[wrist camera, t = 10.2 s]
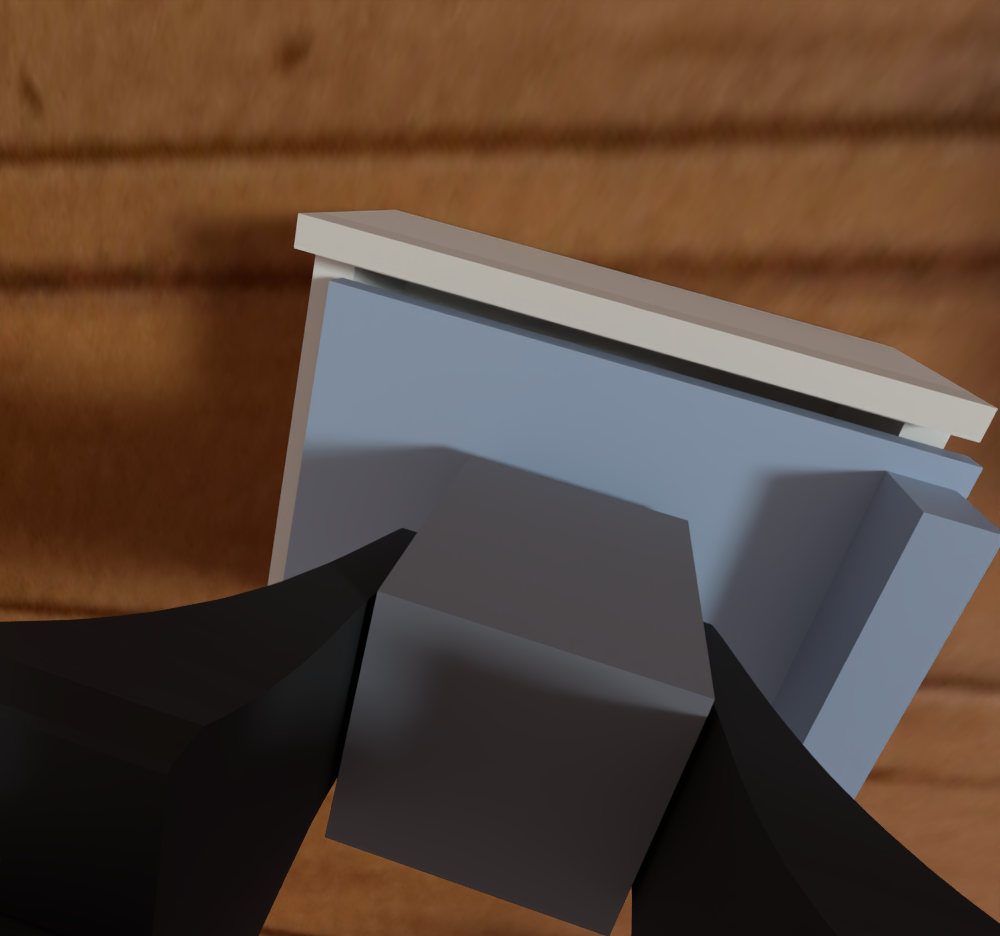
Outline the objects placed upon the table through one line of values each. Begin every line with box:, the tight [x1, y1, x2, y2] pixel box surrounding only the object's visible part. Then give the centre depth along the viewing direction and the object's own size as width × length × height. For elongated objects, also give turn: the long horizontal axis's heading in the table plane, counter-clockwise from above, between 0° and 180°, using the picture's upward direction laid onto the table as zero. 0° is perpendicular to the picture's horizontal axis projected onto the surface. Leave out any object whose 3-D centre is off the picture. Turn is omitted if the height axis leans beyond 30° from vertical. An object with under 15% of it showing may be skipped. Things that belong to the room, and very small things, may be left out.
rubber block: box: [325, 455, 715, 936], centre depth 11 cm, size 4×4×5 cm
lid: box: [283, 278, 1000, 799], centre depth 14 cm, size 8×12×2 cm
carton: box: [268, 210, 998, 586], centre depth 17 cm, size 10×12×5 cm
